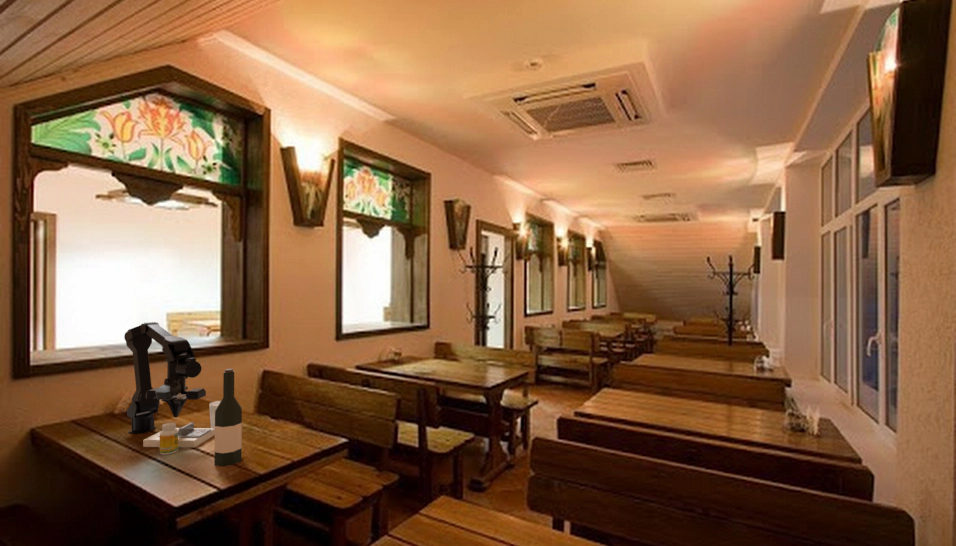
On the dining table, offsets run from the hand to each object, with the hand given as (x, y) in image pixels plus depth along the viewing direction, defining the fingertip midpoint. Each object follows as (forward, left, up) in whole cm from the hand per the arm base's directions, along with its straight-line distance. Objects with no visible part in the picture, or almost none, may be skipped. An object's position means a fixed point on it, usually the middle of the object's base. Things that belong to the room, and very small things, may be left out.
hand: (176, 417), depth 174 cm
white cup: (+9, +14, -9) cm, 19 cm away
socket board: (+2, 0, -9) cm, 9 cm away
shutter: (+7, 0, -6) cm, 9 cm away
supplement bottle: (+5, -11, -9) cm, 15 cm away
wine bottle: (+29, -18, -9) cm, 35 cm away
